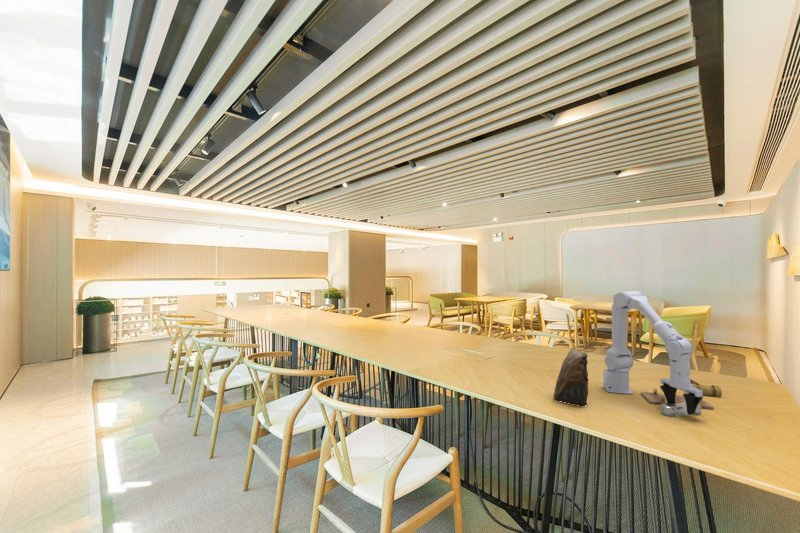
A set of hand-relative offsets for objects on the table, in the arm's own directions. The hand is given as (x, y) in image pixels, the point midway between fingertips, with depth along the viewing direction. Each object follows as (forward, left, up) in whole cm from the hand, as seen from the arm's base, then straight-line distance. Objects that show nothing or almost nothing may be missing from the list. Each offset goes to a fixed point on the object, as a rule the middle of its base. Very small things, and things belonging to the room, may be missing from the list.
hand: (680, 409), depth 124 cm
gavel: (+18, +33, -2) cm, 38 cm away
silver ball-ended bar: (0, 0, -2) cm, 2 cm away
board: (+3, +13, -1) cm, 13 cm away
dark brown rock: (-36, +3, -2) cm, 36 cm away
